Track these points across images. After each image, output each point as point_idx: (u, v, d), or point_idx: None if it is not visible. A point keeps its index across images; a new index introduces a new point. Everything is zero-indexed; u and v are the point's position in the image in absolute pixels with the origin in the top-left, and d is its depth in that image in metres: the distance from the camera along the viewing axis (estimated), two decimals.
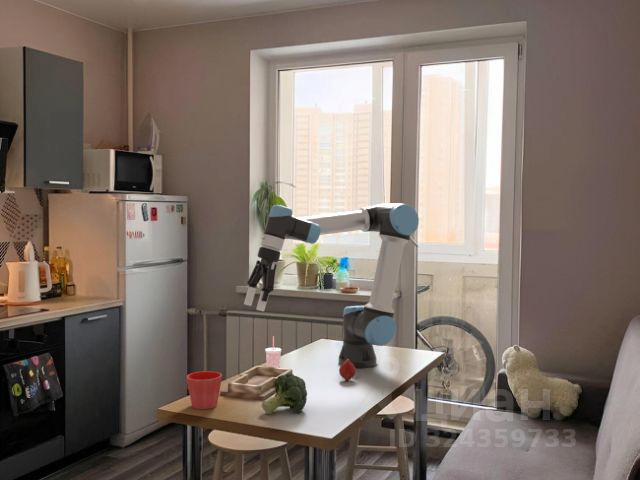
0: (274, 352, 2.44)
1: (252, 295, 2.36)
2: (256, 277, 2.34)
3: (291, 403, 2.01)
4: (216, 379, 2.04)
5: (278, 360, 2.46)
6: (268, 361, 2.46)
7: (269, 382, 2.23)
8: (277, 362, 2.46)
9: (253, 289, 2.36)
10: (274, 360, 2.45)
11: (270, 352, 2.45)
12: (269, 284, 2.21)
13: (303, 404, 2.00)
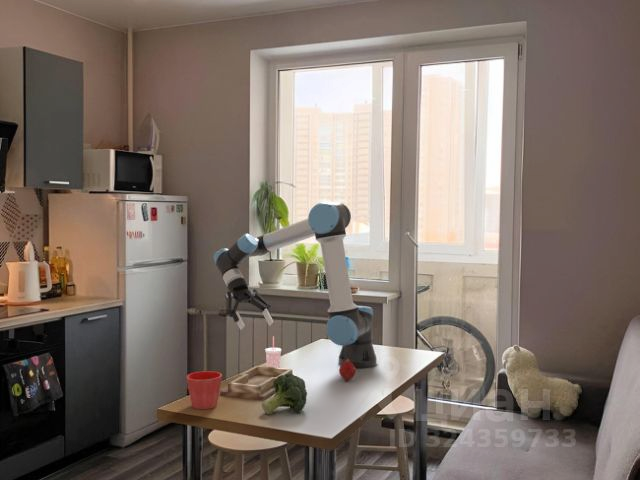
0: (274, 352, 2.44)
1: (267, 315, 2.60)
2: (254, 304, 2.62)
3: (291, 403, 2.01)
4: (216, 379, 2.04)
5: (278, 360, 2.46)
6: (268, 361, 2.46)
7: (269, 382, 2.23)
8: (277, 362, 2.46)
9: (264, 311, 2.61)
10: (274, 360, 2.45)
11: (270, 352, 2.45)
12: (226, 309, 2.53)
13: (303, 404, 2.00)
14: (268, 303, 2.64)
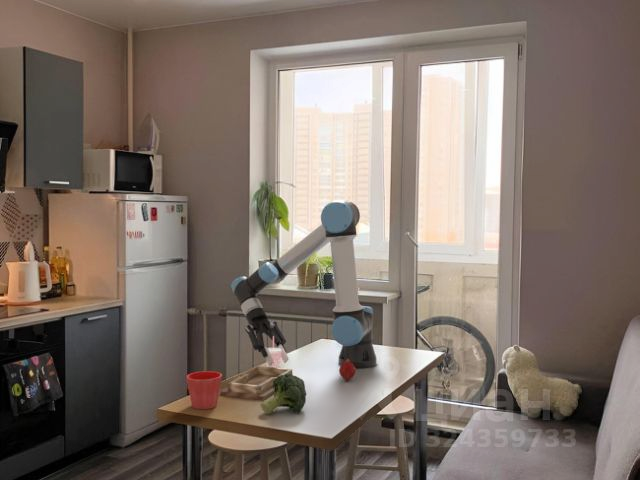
0: (274, 352, 2.44)
1: (282, 351, 2.48)
2: (270, 337, 2.52)
3: (290, 403, 2.01)
4: (216, 379, 2.04)
5: (278, 360, 2.46)
6: None
7: (269, 382, 2.23)
8: (277, 362, 2.46)
9: (279, 347, 2.49)
10: (274, 360, 2.45)
11: (270, 352, 2.45)
12: (253, 344, 2.45)
13: (302, 404, 2.00)
14: (284, 338, 2.52)
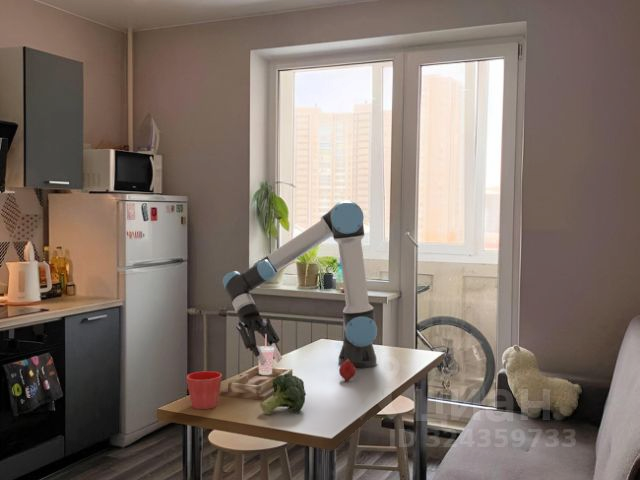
0: (266, 351, 2.31)
1: (275, 350, 2.35)
2: (263, 335, 2.39)
3: (289, 403, 2.00)
4: (216, 379, 2.04)
5: (271, 359, 2.33)
6: None
7: (269, 382, 2.23)
8: (269, 361, 2.32)
9: (272, 346, 2.36)
10: (266, 359, 2.32)
11: (262, 351, 2.31)
12: (245, 343, 2.32)
13: (301, 404, 2.00)
14: (277, 336, 2.39)
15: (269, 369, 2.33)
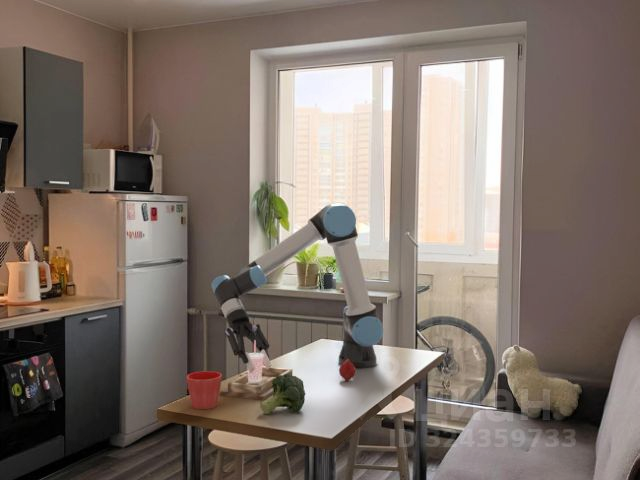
0: (255, 358, 2.25)
1: (264, 357, 2.28)
2: (252, 341, 2.32)
3: (289, 403, 2.00)
4: (216, 379, 2.04)
5: (260, 366, 2.26)
6: None
7: (269, 382, 2.23)
8: (259, 368, 2.26)
9: (261, 352, 2.29)
10: (255, 366, 2.25)
11: (251, 358, 2.25)
12: (233, 349, 2.25)
13: (301, 404, 2.00)
14: (267, 343, 2.33)
15: (259, 376, 2.26)
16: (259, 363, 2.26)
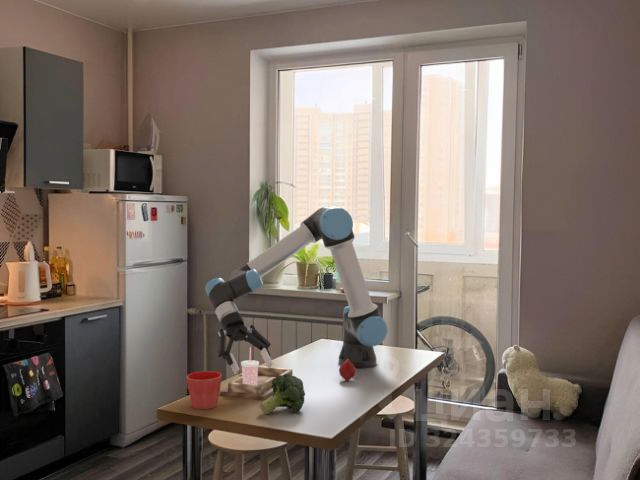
0: (251, 366, 2.19)
1: (265, 355, 2.26)
2: (251, 343, 2.29)
3: (289, 403, 2.00)
4: (216, 379, 2.04)
5: (255, 374, 2.21)
6: (244, 375, 2.20)
7: (269, 382, 2.23)
8: (254, 376, 2.20)
9: (263, 351, 2.27)
10: (251, 374, 2.20)
11: (246, 365, 2.19)
12: (219, 350, 2.19)
13: (301, 404, 2.00)
14: (267, 341, 2.30)
15: (254, 384, 2.21)
16: (254, 371, 2.20)
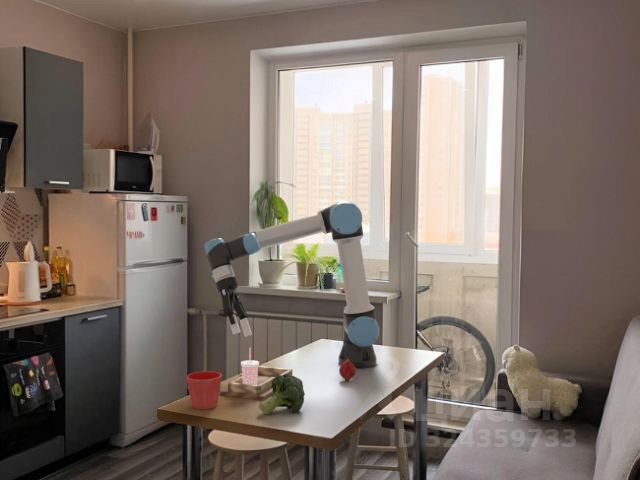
0: (250, 366, 2.19)
1: (246, 325, 2.44)
2: (236, 309, 2.44)
3: (288, 403, 2.00)
4: (216, 379, 2.04)
5: (255, 374, 2.21)
6: (244, 376, 2.20)
7: (269, 382, 2.23)
8: (254, 376, 2.20)
9: (244, 320, 2.44)
10: (250, 374, 2.20)
11: (246, 366, 2.19)
12: (225, 307, 2.30)
13: (301, 404, 2.00)
14: None
15: (254, 384, 2.21)
16: (254, 371, 2.20)
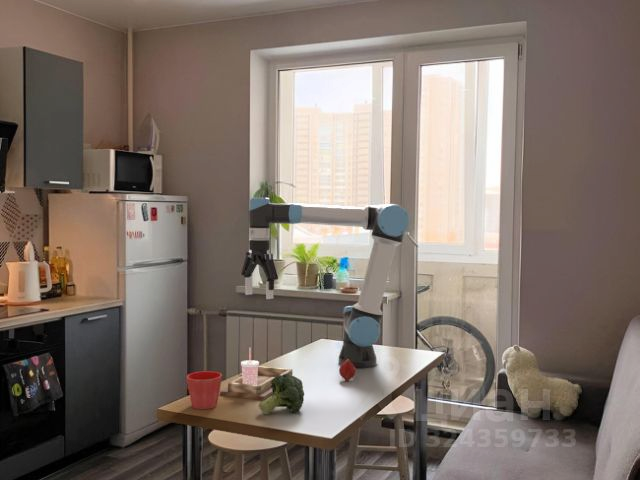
0: (250, 366, 2.19)
1: (250, 284, 2.51)
2: (251, 267, 2.48)
3: (288, 403, 2.00)
4: (216, 379, 2.04)
5: (255, 374, 2.21)
6: (244, 376, 2.20)
7: (269, 382, 2.23)
8: (254, 376, 2.20)
9: (250, 278, 2.51)
10: (250, 374, 2.20)
11: (246, 366, 2.19)
12: (273, 274, 2.38)
13: (300, 404, 2.00)
14: None
15: (254, 384, 2.21)
16: (254, 371, 2.20)
